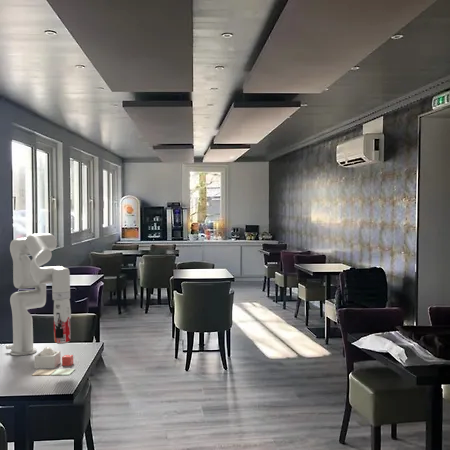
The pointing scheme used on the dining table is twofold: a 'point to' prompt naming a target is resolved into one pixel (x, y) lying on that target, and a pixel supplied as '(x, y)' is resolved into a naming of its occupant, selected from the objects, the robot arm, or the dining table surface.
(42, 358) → the base
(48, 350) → the dome
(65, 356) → the die
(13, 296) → the robot arm
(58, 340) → the soda can
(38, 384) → the dining table surface
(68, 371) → the beige and green board
